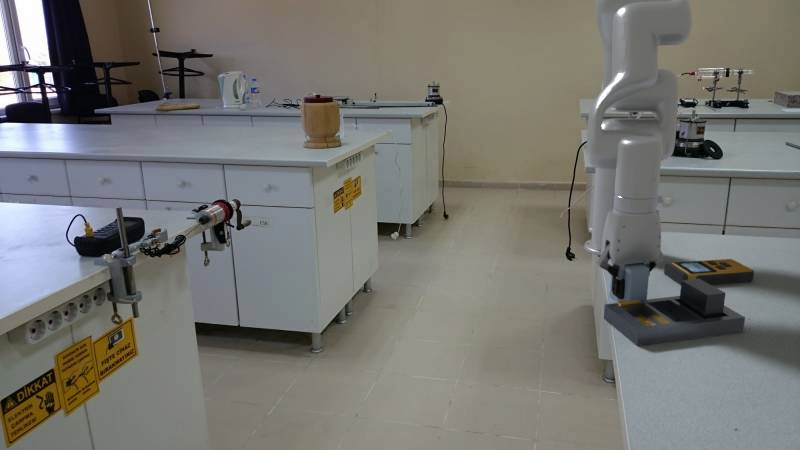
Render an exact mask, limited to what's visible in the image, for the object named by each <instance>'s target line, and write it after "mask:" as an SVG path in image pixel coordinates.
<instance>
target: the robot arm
mask: <svg viewBox="0 0 800 450" xmlns="http://www.w3.org/2000/svg"><path fill="white" fill-rule="evenodd" d="M594 9H595V10H594V11H595V13H594V14H595V21H596V24H597V25H596V26H597V29H598V32H599V36H600V38H601V42H602V47H603V72H602V73H603V75H602V77H603V78H602V90H601V91H600V93H599V94H598V96H597V97H596V98H595V99H594V101H593V103H592V105H591V107H590V110H589V112H588V118H587V126H586V127H587V131H586V156H587V161H588V163H589V165H591V166H592V167H594V168H595V177H594V192H593V195H594V196H593V208H592V209H593V213H592V227H589V229H588V232H589V233H591V239H588V240H587V241H585V243H584V250H586V251H587V252H588V253H590V254H592V255H595V256H599V257H598V260H596V266H598V267H599V268H601V269H602V270H605V271H607V273H608V274H610V276H611V275H612V276H613V277H612V293H613V295H615V296H616V297H617V298H619V299H623V298H624V289H625V280H624V279H623V275H624V270H625V266H626V265H627V264H636V263H641V264H643V265H644V266H646V267H648V268H649V276H650V275H651V274H650V273H651V272H652V270H655V268H656V267H657V266H658V265H659V264H660V263H662V262H663V261H665V256H664V254H663V252H662V250H661V249H662V248H661V247H662V223H661V215H660V211H659V210H658V206H659V205H658V204H661V203H663V199H664V198H663V196H662V195H659V190H660V189H659V187H660V179H661V178H660V176H661V167H662V162H663V161H664V160H668V159H669V158H670V157H671V156H672V155H673V153H674V150H675V145H676V137H677V123H678V122H677V121H678V119H677V118H678V109H679V107H678V105H679V82H678V77H677V75H676V74H675V72H674V71H672V70H671V69H668V68H667V69H666V68H659V67H658V65H659V63H658V62H659V61H658V59H659V58H658V57H659V52H658V51H659V49H658V48H659V46H680V45H683V44H684V43H686V41H687V40H688V39H689V37H690V34H691V30H692V25H693V24H692V22H693V19H692V9H691V5H690V2H689V0H595V8H594ZM606 111H610V112H616V113H651V114H653V116H654V118H653V117H652V118H651V117H649V118H641V117H639V118H636V117H634V118H633V117H632V118H631V117H627V118H626V117H623V118H621V117H619V118H618V117H617V118H616V117H615V118H608V119H605V120H603V119H604V115H605V113H606ZM609 261H611V264H610V263H609Z"/></svg>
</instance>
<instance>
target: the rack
mask: <svg viewBox="0 0 800 450" xmlns="http://www.w3.org/2000/svg"><path fill="white" fill-rule="evenodd" d="M725 299H726V292H724V291H723V290H722V289H719V288H717V287H716V286H713V285H710V284H708V283H706V282H704V281H703V280H701V279H690V280H682V282H681V285H680V293H679V295H676V296H675V295H674V296H668V297H659V298H651V299H648V298H647V300H638V299H635V300H626V301H616V303H614V302H613V303H606V304H604V309H603V310H604V312H603V319H604V320H605V321H606V323H609V324H610V326H612V327H614V328H615V329H616V330H617V331H618V332H619V333H621V334H622V335H624V337H626V339H628V340H629V341H631V342H632V343H633V344H634V345H635V346H637V347H639V346H648V345H656V344H663V343H670V342H671V343H672V342H679V341H685V340H686V341H687V340H692V339H693V340H694V339H695V340H696V339H701V338H702V339H703V338H709V337H716V336H723V335H724V336H725V335H730V334H731V335H733V334H740V333H744V328H745V321H746V317H745V316H743V315H742V314H740V313H739V312H737V311H735V310H733V309H731V308H729V307H727V306H726V305H725Z"/></svg>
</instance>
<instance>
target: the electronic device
mask: <svg viewBox="0 0 800 450" xmlns="http://www.w3.org/2000/svg"><path fill="white" fill-rule="evenodd" d="M754 274H755V273H754V270H753V269H752V268H750V267H748V266H746V265H744V264H742V263H741V262H739V261H736V259H735V260H734V259H733V258H723V259H721V258H720V259H710V260H708V259H707V260H706V259H705V260H694V261H693V260H692V261H678V262H668V263H667V262H666V263H665V264H664V269H663V275H665V276H666V277H668V278H669V279H671V280H672V281H673V282H675V283H677V284H678V285H679V286H681V282H682V280H690V279H701V280H703V281H704V282H706V283H708V284H710V285H712V286H713V285H724V284H726V285H727V284H739V283H751V282H753V280H754Z"/></svg>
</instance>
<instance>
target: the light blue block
mask: <svg viewBox="0 0 800 450" xmlns="http://www.w3.org/2000/svg"><path fill="white" fill-rule="evenodd" d="M610 276H611V277H610V286H609V287H610V289H609V290H610V291H609V296H610V297H611V299H614V300H615V301H616V302H618V301H626V300H635V299H638V300H648V291H649V290H648V289H649V288H648V287H649V277H650V275H649V268H648V267H646V266H644V265H643V264H641V263H636V264H627V265H626V266H625V270H624V275H623V279H624V280H625V289H624V298H623V299H619V298H617V297H616V296H615V295H613V293H612V277H613V276H612V275H610Z"/></svg>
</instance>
